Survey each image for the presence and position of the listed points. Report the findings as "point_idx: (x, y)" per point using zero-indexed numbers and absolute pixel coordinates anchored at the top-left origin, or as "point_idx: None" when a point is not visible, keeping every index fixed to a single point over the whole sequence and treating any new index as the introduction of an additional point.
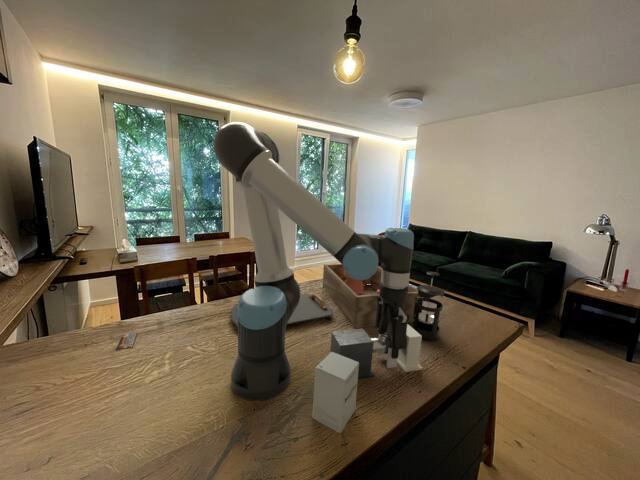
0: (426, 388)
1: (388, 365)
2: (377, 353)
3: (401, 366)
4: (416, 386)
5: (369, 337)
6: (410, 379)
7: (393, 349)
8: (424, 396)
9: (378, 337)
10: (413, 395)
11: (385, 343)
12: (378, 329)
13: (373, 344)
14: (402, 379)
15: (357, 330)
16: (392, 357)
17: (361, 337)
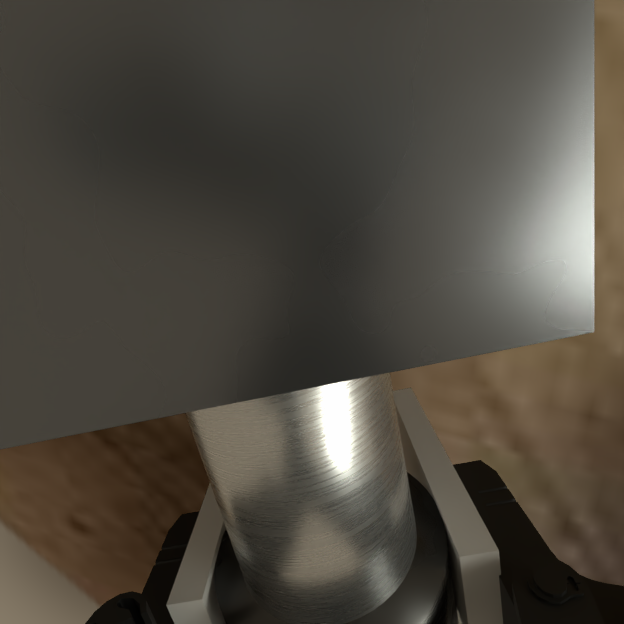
0: (110, 564)
1: None
2: (405, 393)
3: None
4: (119, 524)
5: (90, 415)
6: (176, 513)
7: (153, 611)
8: (43, 535)
9: (350, 541)
10: (38, 486)
11: (243, 574)
12: (577, 610)
13: (191, 413)
14: (171, 471)
15: (497, 121)
16: (189, 518)
17: (37, 173)
